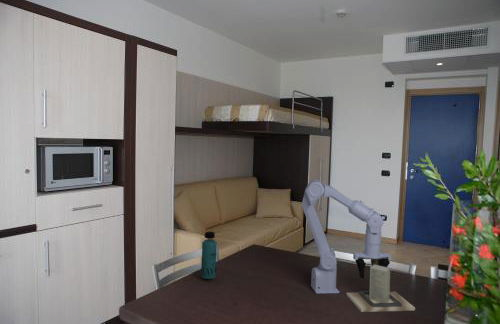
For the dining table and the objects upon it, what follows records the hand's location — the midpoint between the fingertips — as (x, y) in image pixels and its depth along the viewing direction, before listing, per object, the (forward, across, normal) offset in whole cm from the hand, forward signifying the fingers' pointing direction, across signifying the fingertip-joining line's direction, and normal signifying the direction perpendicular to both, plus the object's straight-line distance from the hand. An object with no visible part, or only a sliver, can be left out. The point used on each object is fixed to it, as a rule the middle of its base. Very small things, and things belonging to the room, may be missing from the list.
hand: (371, 277), depth 131 cm
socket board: (+7, 0, +7) cm, 10 cm away
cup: (+7, -15, -23) cm, 28 cm away
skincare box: (+6, 0, +7) cm, 9 cm away
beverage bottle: (+7, +63, -17) cm, 66 cm away
